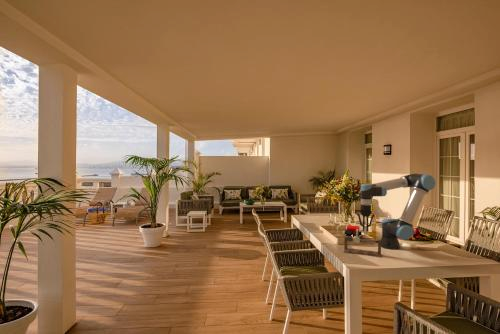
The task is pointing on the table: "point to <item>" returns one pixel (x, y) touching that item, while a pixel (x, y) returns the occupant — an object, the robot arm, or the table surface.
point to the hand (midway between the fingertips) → (365, 235)
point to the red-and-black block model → (352, 230)
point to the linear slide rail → (362, 252)
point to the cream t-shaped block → (356, 237)
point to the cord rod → (361, 240)
